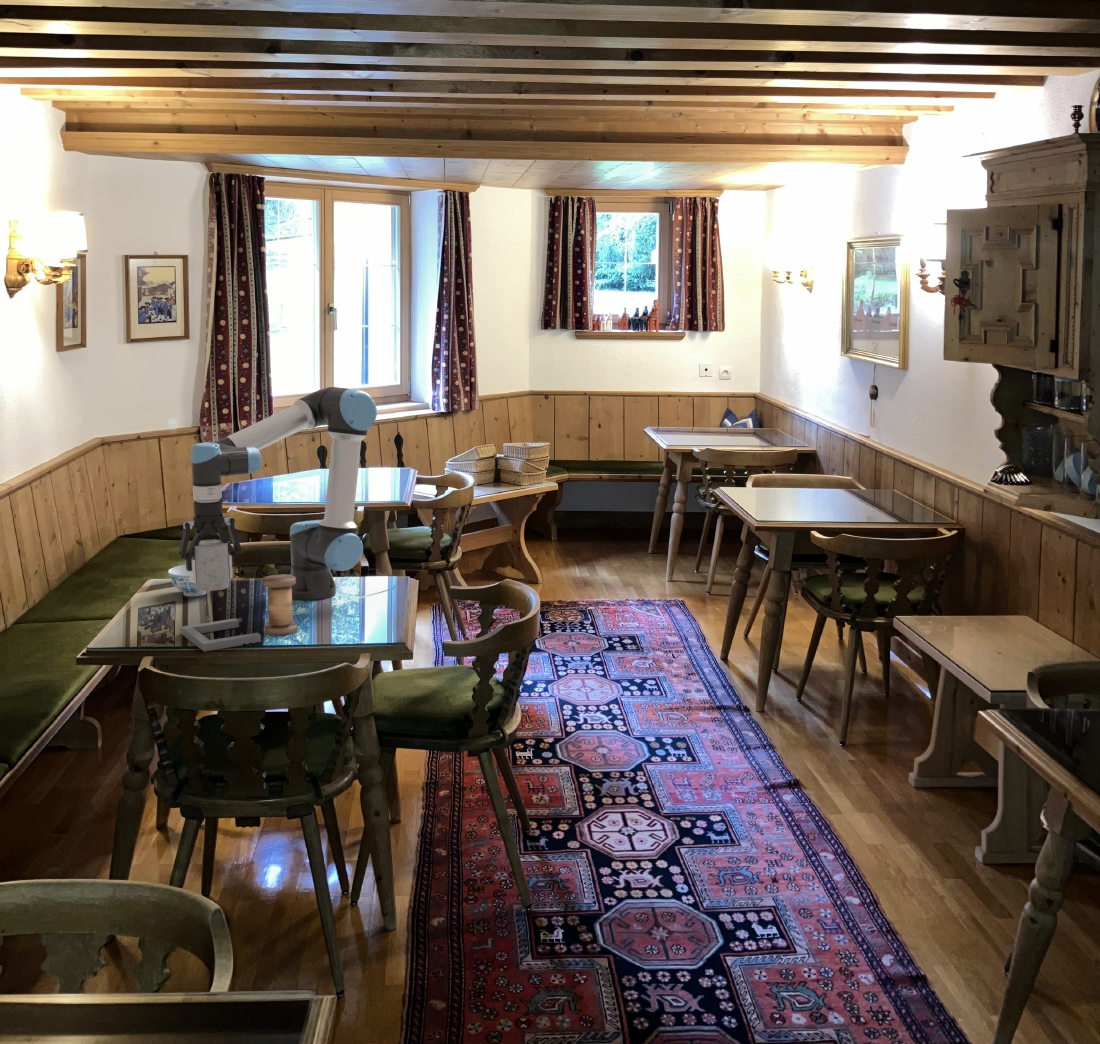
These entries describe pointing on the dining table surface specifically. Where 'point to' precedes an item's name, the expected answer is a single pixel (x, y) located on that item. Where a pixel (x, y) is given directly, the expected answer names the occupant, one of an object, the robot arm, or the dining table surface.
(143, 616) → the dining table surface
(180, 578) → the chinaware
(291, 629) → the bobbin
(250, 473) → the robot arm
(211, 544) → the white scuffed cylinder
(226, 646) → the c-shaped bracket
